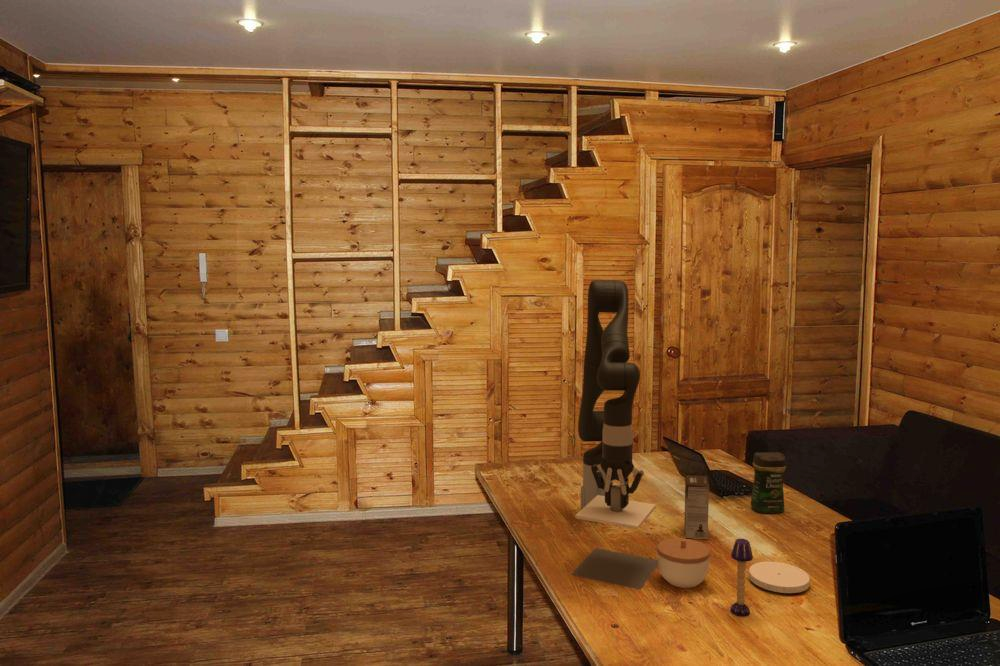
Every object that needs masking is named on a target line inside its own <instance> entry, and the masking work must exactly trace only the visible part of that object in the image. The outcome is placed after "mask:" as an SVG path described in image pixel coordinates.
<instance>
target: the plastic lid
mask: <svg viewBox="0 0 1000 666" xmlns="http://www.w3.org/2000/svg"><path fill="white" fill-rule="evenodd" d="M748 578H749V580H750V582H752V583H753V584H754V585H756V586H757V587H760V588H762V589H764V590H766V591H770V592H771V591H772V592H775V593H781V594H782V593H783V594H795V593H796V594H797V593H802V592H805V591H807V590H808V589H809V587H810V585H811V583H810V582H811V580H810V579H811V578H810V575H809V573H807V572H806V571H805V570H803V569H801V568H800V567H797V566H796V565H792V564H788V563H783V562H778V561H761V562H760V561H759V562H757V563H754V564H752V565H750V567H749V569H748Z"/></svg>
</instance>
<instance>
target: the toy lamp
mask: <svg viewBox="0 0 1000 666" xmlns="http://www.w3.org/2000/svg"><path fill="white" fill-rule="evenodd" d="M750 543H751V542H750V541H749V540H748V539H746V538H736V539H735V541H734V544H733V546H732V547H733V548H732V549H731V554H730V557H731V559H733V560H734V561H737V566H736V567H737V569H736V570H737V572H736V576H737V578H736V583H737V584H736V590H737V591H736V602H734V603H733V604H731V606H730V612H731V614H733V615H735V616H739V617H745V616H746V617H747V616H749V615H750V614H751V610H750V607H749V606H748V605H747V604H746V603H745V602H746V600H745V595H746V594H745V590H746V586H745V584H746V579H745V577H746V572H745V571H746V562H751V561H753V559H754V555H753V551H752V547H751V544H750Z"/></svg>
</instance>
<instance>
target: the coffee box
mask: <svg viewBox="0 0 1000 666" xmlns="http://www.w3.org/2000/svg"><path fill="white" fill-rule="evenodd" d="M684 476H685V481H684V533H685V534H684V535H685V536H684V537H685V539H686V538H699V539H698V540H701V539H708V536H709V503H710V502H709V501H710V499H709V498H710V496H709V495H710V484H709V479H708V475H690V474H689V475H684Z"/></svg>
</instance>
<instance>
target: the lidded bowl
mask: <svg viewBox="0 0 1000 666" xmlns="http://www.w3.org/2000/svg"><path fill="white" fill-rule="evenodd" d="M656 553H657V560H658V565H657V566H658V570H659V571H660V574H661V575H662V578H663V579H664V580H665V581H666V582H667V583H668V584H669V585H671V586H674V587H676V588H681V589H692V588H695V587H697V586H698V585H700V584H701V583H702V582H703V581H704V580H705V578H706V576H707V575H708V574H707V573H708V571H709V567H710V558H711V549H710V548H709V547H708V545H707V544H705V543H703V542H701V541H698V540H696V539H686V537H685V538H682V537H674V538H673V537H672V538H666V539H663V540H661V541H659V542H658V544H657V546H656Z"/></svg>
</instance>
